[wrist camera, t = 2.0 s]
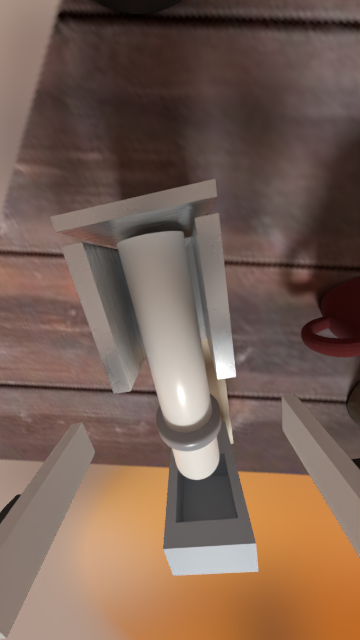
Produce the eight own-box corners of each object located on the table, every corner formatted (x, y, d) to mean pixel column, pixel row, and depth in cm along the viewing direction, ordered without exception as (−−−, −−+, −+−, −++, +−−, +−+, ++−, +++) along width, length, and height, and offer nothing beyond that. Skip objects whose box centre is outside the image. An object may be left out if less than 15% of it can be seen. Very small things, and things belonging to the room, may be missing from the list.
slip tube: (123, 251, 13) (87, 244, 8) (191, 237, 13) (196, 220, 8) (170, 431, 19) (165, 492, 14) (220, 425, 18) (233, 485, 13)
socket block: (172, 428, 24) (163, 549, 14) (225, 421, 23) (255, 543, 13) (178, 449, 25) (173, 575, 15) (228, 444, 24) (258, 571, 14)
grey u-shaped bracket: (124, 242, 17) (50, 216, 7) (197, 226, 16) (214, 178, 7) (147, 331, 19) (113, 393, 10) (211, 321, 19) (235, 376, 10)
